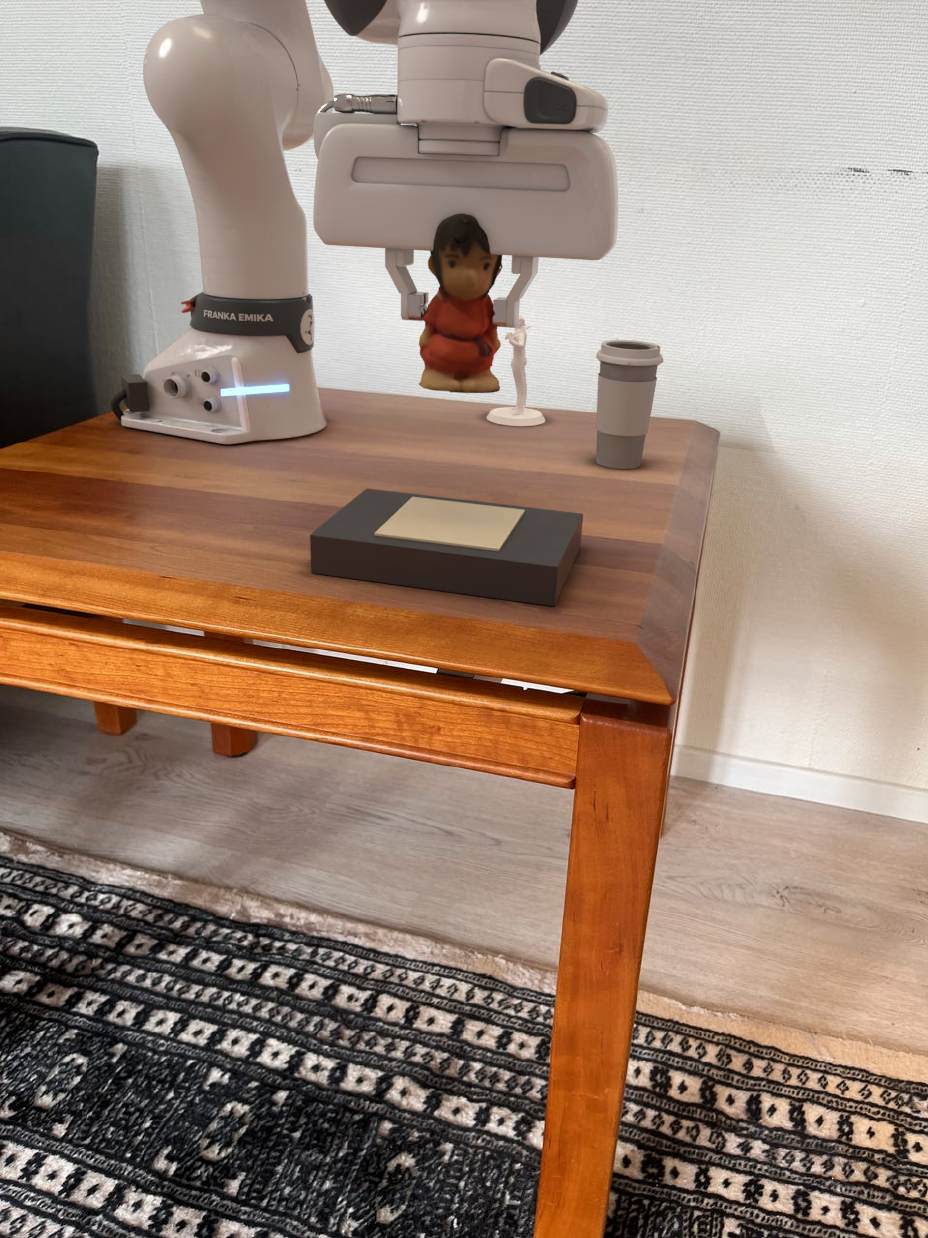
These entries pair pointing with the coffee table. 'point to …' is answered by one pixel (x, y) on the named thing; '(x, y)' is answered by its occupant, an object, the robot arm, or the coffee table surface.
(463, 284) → the figurine
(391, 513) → the block
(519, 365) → the figurine
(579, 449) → the coffee table surface
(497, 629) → the coffee table surface
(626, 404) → the cup
